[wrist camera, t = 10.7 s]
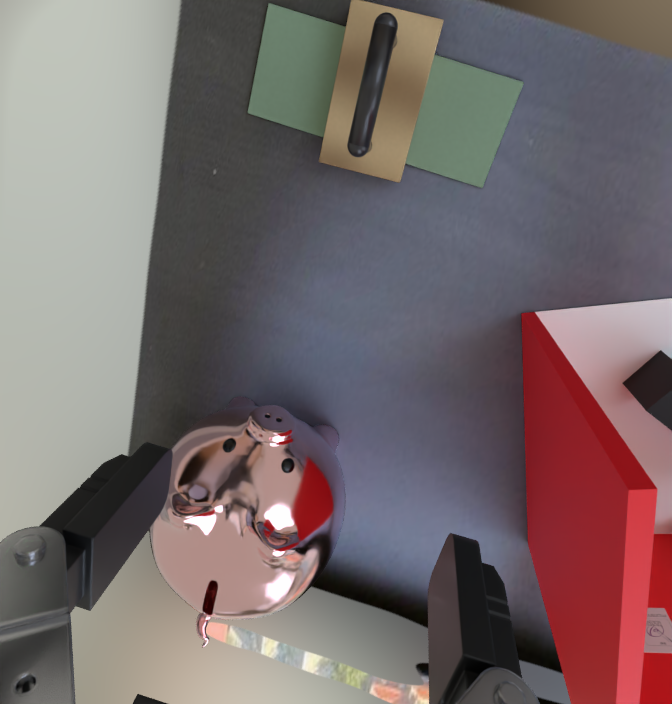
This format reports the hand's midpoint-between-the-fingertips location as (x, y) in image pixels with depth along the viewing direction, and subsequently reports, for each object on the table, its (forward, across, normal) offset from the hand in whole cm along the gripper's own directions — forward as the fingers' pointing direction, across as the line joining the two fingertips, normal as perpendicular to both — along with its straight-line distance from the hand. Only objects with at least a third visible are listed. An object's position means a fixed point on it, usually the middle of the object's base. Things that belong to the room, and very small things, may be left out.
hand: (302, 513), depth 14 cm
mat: (+28, +3, -12) cm, 31 cm away
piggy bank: (+28, +5, +19) cm, 35 cm away
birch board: (+28, +3, -12) cm, 31 cm away
